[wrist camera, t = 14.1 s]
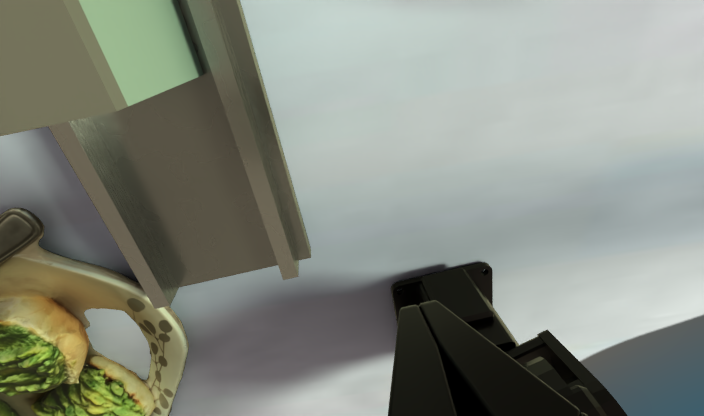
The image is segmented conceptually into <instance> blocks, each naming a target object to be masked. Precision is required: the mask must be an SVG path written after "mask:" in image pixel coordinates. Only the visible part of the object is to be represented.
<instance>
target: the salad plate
mask: <svg viewBox="0 0 704 416" xmlns="http://www.w3.org/2000/svg"><path fill="white" fill-rule="evenodd" d="M43 235H44V225H43V223H42V222H41V221H40V220H39V218H38V217H36V216H35V215H34V214H33V213H31V212H30V211H28V210H26V209H23V208H11V209H8V210H7V211H6V212H4V213H3V214H1V215H0V416H169V414H170V412H171V408H172V402H173V400H174V397H175V394H176V392H177V389H178V385H179V382H180V380H181V378H182V375H183V371H184V368H185V363H186V357H187V353H188V348H189V343H188V340H187V336H186V333H185V331H184V328H183V325H182V322H181V321H180V319H179V318H178V317H177V315H176V314H175V313H174V311H173V310H172V309H171V308H170V307H169V306H166V307H162V308H157V309H154V307H153V305H152V303H151V302H150V300H149V298H148V297H147V295H146V293H145V291H144V290H143V288H142V286H141V285H140V284H139V283H137V282H135V281H133V280H132V279H130V278H128V277H126V276H124V275H122V274H120V273H118V272H115V271H113V270H110V269H107V268H104V267H101V266H97V265H93V264H89V263H85V262H81V261H77V260H73V259H69V258H66V257H63V256H59V255H57V254H54V253H51V252H49V251H47V250H45V249H43V248H41V247H40V246H39V240H40V239H41V238H42V237H43ZM91 308H96V309H99V308H107V309H116V310H122V311H125V312H126V313H127V314H128V315H129V316H130V317H131V318H132V319H133V320H134V321H135V322H136V323H137V325H138V326H139V327H140V329H141V331H142V333H143V334H144V336H145V337H146V339H147V341H148V344H149V347H150V354H151V364H150V372H149V376H148V379H147V380H142V379H140V378H139V377H138V376H137V374H136V373H135V372H133V371H131V370H128V369H126V368H125V367H124V366H122V365H120V364H118V363H116V362H114V361H112V360H109V359H107V358H106V357H104V356H103V355H102V354H100V353H99V352H97V351H95V350H94V349H93V348H92V345H91V343H90V341H89V339H88V335H87V333H86V331H85V329H86V328H88V327H89V326H90V323H89V322H88V320H87V318H86V317H85V315H84V312H85V310H87V309H91Z"/></svg>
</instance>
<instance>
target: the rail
mask: <svg viewBox="0 0 704 416" xmlns="http://www.w3.org/2000/svg"><path fill="white" fill-rule="evenodd" d="M177 1H178V4H179V6H180V9H181V12H182V15H183V18H184V20H185V23H186V26H187V29H188V32H189V34H190V37H191V40H192V43H193V46H194V48H195V51H196V54H197V57H198V60H199V62H200V65H201V68H202V71H203V74H204V75H202V76H200V77H197V78H195V79H193V80H190V81H188V82H185V83H183V84H181V85H178V86H176V87H173V88H171V89H169V90H166V91H164V92H162V93H159V94H157V95H154V96H152V97H150V98H147V99H145V100H143V101H140V102H138V103H135V104H133V105H131V106H128V107H126V108H124V109H121V110H119V111H116V112H112V113H107V114H102V115H97V116H93V117H88V118H83V119H79V120H74V121H69V122H64V123H60V124H55V125H50V126H48V127H49V129H50V130H51V132H52V134H53V135H54V137H55V139H56V141H57V142H58V144H59V146H60V147H61V149H62V151H63V153H64V154H65V156H66V158H67V159H68V161H69V163H70V165H71V166H72V168H73V170H74V171H75V173H76V175H77V177H78V178H79V180H80V182H81V183H82V185H83V187H84V189H85V190H86V192H87V194H88V195H89V197H90V199H91V201H92V202H93V204H94V206H95V207H96V209H97V211H98V213H99V214H100V216H101V218H102V219H103V221H104V223H105V225H106V226H107V228H108V230H109V231H110V233H111V235H112V237H113V238H114V240H115V242H116V243H117V245H118V247H119V249H120V250H121V252H122V254H123V255H124V257H125V259H126V261H127V262H128V264H129V266H130V267H131V269H132V271H133V273H134V274H135V276H136V278H137V279H138V281H139V283H140V285H141V286H142V288H143V290H144V291H145V293H146V295H147V297H148V298H149V300H150V302H151V303H152V305H153V307H154V309H157V308H162V307H166V306H170V305H171V303H172V301H173V299H174V297H175V295H176V292H177V290H178V288H179V287H182V286H187V285H191V284H196V283H200V282H204V281H209V280H213V279H218V278H222V277H227V276H231V275H236V274H240V273H244V272H249V271H253V270H258V269H262V268H267V267H271V266H275V265H278V266H279V269H280V272H281V274H282V277H283V280H285V279H290V278H294V277H298V270H299V260H302V259H307V258H311V248H310V244H309V241H308V237H307V234H306V230H305V227H304V223H303V220H302V216H301V213H300V209H299V206H298V202H297V199H296V195H295V192H294V188H293V185H292V181H291V178H290V174H289V171H288V167H287V164H286V160H285V157H284V153H283V150H282V146H281V143H280V139H279V136H278V132H277V129H276V125H275V122H274V118H273V115H272V111H271V108H270V104H269V101H268V97H267V94H266V90H265V87H264V83H263V80H262V76H261V73H260V69H259V66H258V62H257V59H256V55H255V52H254V48H253V45H252V41H251V38H250V34H249V31H248V27H247V24H246V20H245V17H244V13H243V10H242V6H241V3H240V0H177Z"/></svg>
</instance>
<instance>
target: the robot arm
mask: <svg viewBox="0 0 704 416" xmlns="http://www.w3.org/2000/svg"><path fill="white" fill-rule="evenodd" d="M484 269H485V270H484ZM482 270H484V271H483V272H481V271H482ZM398 289H402V290H400V291H397V290H398ZM391 291H392V297H393V303H394V309H395V314H396V320H397V326H398V329H397V338H396V347H395V356H394V365H393V374H392V383H391V392H390V401H389V410H388V416H627V414H626V413H625V412H624V410H623V409H622V408H621V406H620V405H619V404H618V403H617V401H616V400H615V399H614V398H613V396H612V395H611V394H610V393H609V392H608V391H607V389H606V388H605V387H604V386H603V385H602V384H601V383H600V382H599V381H598V380H597V379H596V378H595V377H594V376H593V375H592V374H591V373H590V372H589V371H588V370H587V369H586V368H585V367H584V366H583V365H582V364H581V363H580V362H579V361H578V360H577V359H576V358H575V357H574V356H573V355H572V354H571V353H570V352H569V351H568V350H567V349H566V348H565V347H564V346H563V345H562V344H561V343H560V342H559V341H558V340H557V339H556V338H555V337H554V336H553V335H552V334H551V333H550V332H549V331H548V330H546V331H543V332H541V333H539V334H537V335H538V336H537V337H535V338H533V339H531V340H529V341H527V342H525V343H523V344H521V345H519V344H518V343H517V341H516V340H515V338H514V337H513V335H512V334H511V333H510V331H509V330H508V328H507V327H506V325H505V324H504V322H503V321H502V319H501V318H500V317H499V315H498V314H497V312H496V311H495V309H494V308H493V306H492V268H491V267H490V266H489V265H488V264H487V263H485V262H483V263H478V264H473V265H469V266H465V267H460V268H456V269H451V270H447V271H443V272H438V273H434V274H430V275H425V276H421V277H416V278H412V279H408V280H403V281H399V282H396V283H394V284H393V285H392V287H391Z"/></svg>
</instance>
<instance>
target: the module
mask: <svg viewBox="0 0 704 416" xmlns="http://www.w3.org/2000/svg"><path fill="white" fill-rule="evenodd" d="M202 75H204V74H203V71H202V68H201V65H200V62H199V60H198V57H197V54H196V51H195V48H194V46H193V43H192V40H191V37H190V34H189V32H188V29H187V26H186V23H185V20H184V18H183V15H182V12H181V9H180V6H179V4H178V1H177V0H0V136H3V135H8V134H13V133H17V132H22V131H27V130H32V129H36V128H41V127H46V126H50V125H55V124H60V123H64V122H69V121H74V120H79V119H83V118H88V117H93V116H97V115H102V114H107V113H112V112H116V111H119V110H121V109H124V108H126V107H128V106H131V105H133V104H135V103H138V102H140V101H143V100H145V99H147V98H150V97H152V96H154V95H157V94H159V93H162V92H164V91H166V90H169V89H171V88H173V87H176V86H178V85H181V84H183V83H185V82H188V81H190V80H193V79H195V78H197V77H200V76H202Z"/></svg>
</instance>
